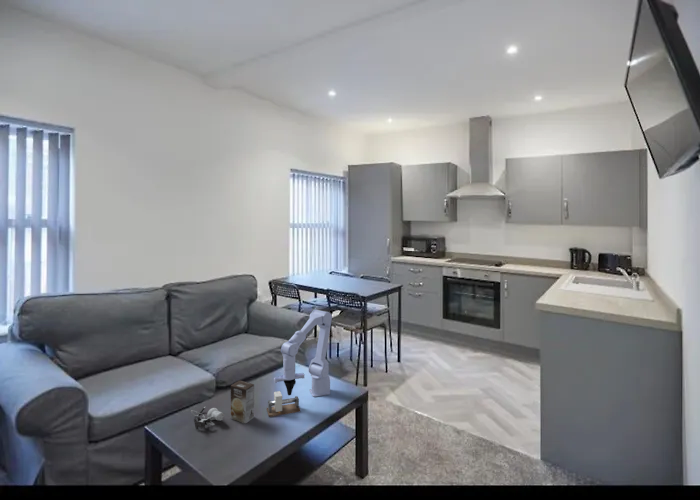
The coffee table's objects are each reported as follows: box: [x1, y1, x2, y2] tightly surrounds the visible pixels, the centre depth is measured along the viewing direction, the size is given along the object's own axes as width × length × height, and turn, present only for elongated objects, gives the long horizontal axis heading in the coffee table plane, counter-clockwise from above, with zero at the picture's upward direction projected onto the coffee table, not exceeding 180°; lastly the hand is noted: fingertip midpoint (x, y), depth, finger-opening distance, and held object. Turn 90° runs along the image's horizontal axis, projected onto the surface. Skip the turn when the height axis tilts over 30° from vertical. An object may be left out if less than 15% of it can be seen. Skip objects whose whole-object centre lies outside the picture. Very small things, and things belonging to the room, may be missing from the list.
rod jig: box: [266, 395, 301, 418], centre depth 180 cm, size 15×7×6 cm, turn 111°
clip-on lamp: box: [190, 406, 225, 429], centre depth 170 cm, size 12×6×18 cm
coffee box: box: [230, 379, 255, 424], centre depth 173 cm, size 9×6×16 cm
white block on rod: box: [273, 390, 283, 412], centre depth 179 cm, size 3×5×7 cm, turn 21°
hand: (289, 394), depth 182 cm, fingers closed
